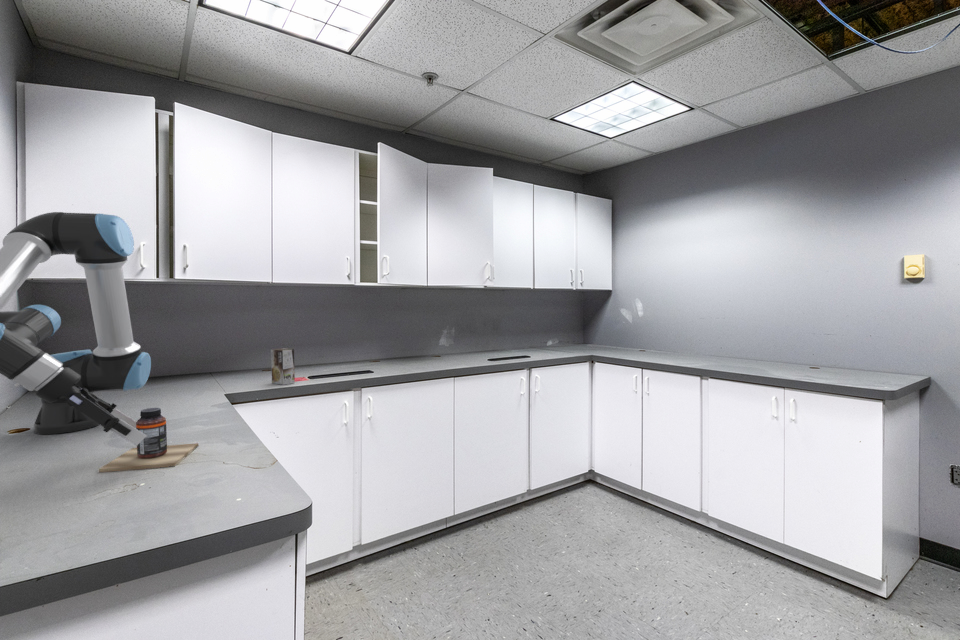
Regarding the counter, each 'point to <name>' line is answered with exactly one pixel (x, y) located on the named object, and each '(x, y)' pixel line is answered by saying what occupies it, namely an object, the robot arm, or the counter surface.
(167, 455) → the oak pad
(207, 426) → the counter surface
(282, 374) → the coffee box
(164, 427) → the supplement bottle
